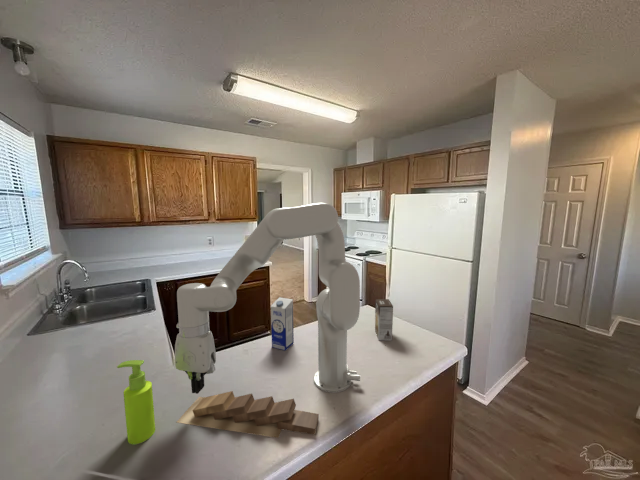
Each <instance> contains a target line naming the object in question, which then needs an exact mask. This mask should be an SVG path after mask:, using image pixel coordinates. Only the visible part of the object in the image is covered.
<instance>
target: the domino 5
mask: <svg viewBox="0 0 640 480" xmlns="http://www.w3.org/2000/svg"><path fill="white" fill-rule="evenodd" d="M319 415H320V414H319V413H315V412H310V411H304V410H299V409H295V410H294V412H293V415H292V418H291V419H290V420H285V421H280V422H278V426H277V429H281V431H282V430H283V431H289V432H295V433H301V434H307V435H315V436H316V432H317V429H318V428H317V427H318V422H319Z"/></svg>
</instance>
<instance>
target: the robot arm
mask: <svg viewBox="0 0 640 480" xmlns="http://www.w3.org/2000/svg"><path fill="white" fill-rule="evenodd" d="M338 214H339V213H338V210H337V209H336V207H334V206H333V205H332V204H330V203H327V202H315V203H310V204H306V205H300V206H292V207H280V208H274V209H271V210H270V211H268V212H267V214H266V215H265V216H264V217H263V219H262V220H261V221H260V222H259V223H258V224H257V226H256V228H255V229H254V230H253V231H252V232H251V233H250V234H249V235H248V237H247V239H245V241H244V242H243V244H242V245H241V246H240V247H239V248H238V249H237V250H236V252H235V253H234V254H233V256H232V257H231V258H230V259H229V260H228V262H227V263H226V264H225V265H224V267H222V269H221V270H220V271H219V273H218V274H217V275H216V276H215V278H214V279H213V281H212V282H211V284H210V286H207V285H206V284H205V283H202V282H201V283H199V282H194V283H193V282H192V283H187V284H183V285H181V286H179V287H178V289H177V291H176V302H177V315H178V316H177V317H178V322H177V324H176V328H177V329H178V332H179V333H177V335H176V338H175V339H176V340H175V344H174V367H175V369H176V370H178V371H183V372H185V374H186V375H187V376H188V379H189V380H190V384H191V385H190V386H191V393H192V394H199V393H200V392H201V391H202V390H203V389H204V388H205V375H208V374H209V375H210V374H213V373H214V372H215V371H216V366H215V364H216V361H217V356H216V355H217V352H216V347H215V340H214V336H213V333H212V331H211V330H210V316H209V315H210V312H211V313H212V312H214V313H216V312H217V313H222V312H227V311H229V310H231V309H232V308H234V306H235V305H236V302H237V299H238V298H237V297H238V296H237V290H238V289H239V287H240V286H241V285H242V283H243V282H244V281H245V279H247V278H248V276H249V275H250V274H252V273H253V272H254V271H255V270H258V268H259V269H260V268H262V267H263V266H264V265H266V263H268V261H269V260H270V259H271V257H272V256H273V254H275V252H276V251H277V249H278V248H279V247H280V246H281V244H282V243H283V242H284V241H285V240H294V239H300V238H306V237H307V238H308V237H310V236H315V238H316V242H317V249H318V277H319V280H320V281H321V282H322V284H323V285H325V286H326V287H327V288H325V289H323V290H321V291H320V293H319V294H318V295H317V298H316V305H315V307H316V317H317V327H318V328H317V335H318V338H317V342H318V344H317V345H318V347H317V348H318V349H317V350H318V351H317V352H318V355H317V357H318V362H317V363H318V366H317V367H318V370H317V371H316V372H315V374H314V376H313V383H314V385H315V387H317V389H319V390H321V391H323V392H326V393H331V394H332V393H334V394H335V393H341V392H344V391H346V390H347V389H348V388H350V386H351V384H352V381H355V382H361V374H357V373H358V370H353V369H352V370H351V369H350V368H349V365H348V363H347V362H348V361H347V360H348V357H347V356H348V343H347V342H348V330H351V329H352V328H353V327H354V326H356V324H357V323H358V320H359V317H360V309H361V308H360V307H361V304H360V303H361V301H360V299H361V294H360V293H361V285H360V283H361V281H360V275H359V273H358V270H357V269H356V267H355V266H354V265H353V264H352V263H350V262H349V261H347V260H346V246H345V244H346V243H345V236H344V232H343V230H342V227H341V226H340V224H339V223H338V222H339V215H338Z"/></svg>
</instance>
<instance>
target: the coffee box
mask: <svg viewBox="0 0 640 480" xmlns="http://www.w3.org/2000/svg"><path fill="white" fill-rule="evenodd" d="M374 310H375V311H374V313H375V315H374V332H375V334H377V335H376V337H377V339H378V341H393V323H394V321H393V317H394V305H393V304H392V302H391V300H390V299H389V298H388V299H387V298H383V299H382V298H380V299H375V309H374Z"/></svg>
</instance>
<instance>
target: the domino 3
mask: <svg viewBox="0 0 640 480" xmlns="http://www.w3.org/2000/svg"><path fill="white" fill-rule="evenodd" d="M274 403H276V402H275V400H274V397H273V395H272V396H266V397H261V398H257V399H254V401H253V403H252V405H251V406H250V408H249V410H248V412H247V413H245V414H240V415H235V416H233V419H234V421H235V423H237V422H242V421H247V420H252V419H257V418H262V417H267V416H268V415H269V413H270V411H271V409H272V407H273V405H274Z"/></svg>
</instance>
